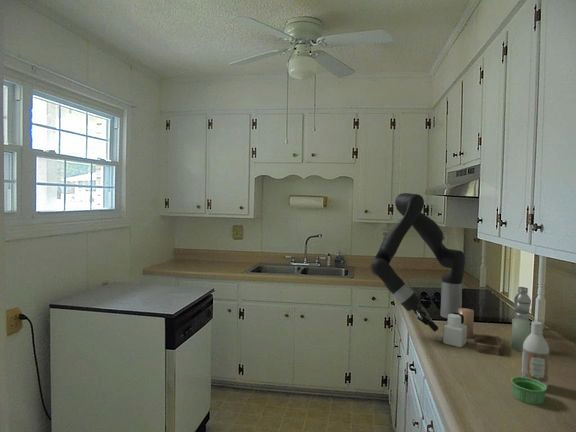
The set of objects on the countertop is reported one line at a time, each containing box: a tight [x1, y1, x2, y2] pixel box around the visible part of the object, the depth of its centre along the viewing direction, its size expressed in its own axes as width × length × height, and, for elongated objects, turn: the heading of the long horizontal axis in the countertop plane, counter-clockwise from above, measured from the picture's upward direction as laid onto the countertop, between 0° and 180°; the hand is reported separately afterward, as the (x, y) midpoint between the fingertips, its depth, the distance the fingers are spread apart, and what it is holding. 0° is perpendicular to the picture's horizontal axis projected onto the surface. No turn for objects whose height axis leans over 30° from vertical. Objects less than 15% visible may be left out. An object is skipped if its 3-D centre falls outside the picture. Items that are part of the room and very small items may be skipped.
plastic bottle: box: [513, 286, 532, 321], centre depth 171 cm, size 6×7×20 cm
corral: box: [474, 333, 504, 357], centre depth 154 cm, size 9×13×3 cm, turn 158°
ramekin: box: [510, 376, 548, 406], centre depth 115 cm, size 9×9×4 cm
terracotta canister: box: [458, 307, 475, 339], centre depth 167 cm, size 6×6×11 cm
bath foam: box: [521, 320, 550, 388], centre depth 123 cm, size 7×7×20 cm
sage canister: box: [510, 317, 531, 352], centre depth 154 cm, size 6×6×11 cm
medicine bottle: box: [442, 312, 468, 348], centre depth 158 cm, size 7×7×12 cm
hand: (436, 329), depth 161 cm, fingers closed
